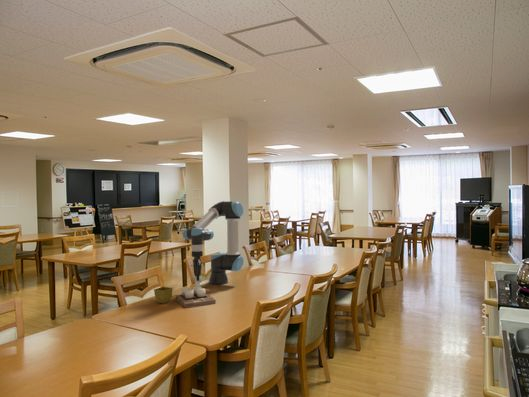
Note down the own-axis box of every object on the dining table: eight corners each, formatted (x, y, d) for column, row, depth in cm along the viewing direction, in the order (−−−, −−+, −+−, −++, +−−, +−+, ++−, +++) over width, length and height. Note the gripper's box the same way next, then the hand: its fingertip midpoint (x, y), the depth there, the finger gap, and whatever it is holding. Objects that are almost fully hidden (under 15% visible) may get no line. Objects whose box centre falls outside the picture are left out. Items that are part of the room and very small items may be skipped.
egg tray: (175, 298, 265) (175, 294, 265) (203, 295, 274) (203, 291, 274) (185, 307, 243) (185, 303, 243) (215, 303, 253) (215, 299, 253)
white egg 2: (192, 292, 268) (192, 286, 268) (200, 291, 270) (200, 285, 270) (194, 294, 263) (194, 288, 263) (202, 293, 265) (202, 287, 265)
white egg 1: (180, 293, 264) (180, 287, 264) (188, 292, 267) (188, 286, 267) (183, 295, 259) (182, 289, 259) (191, 294, 262) (191, 288, 262)
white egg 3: (195, 295, 261) (195, 288, 261) (203, 294, 263) (203, 287, 263) (198, 297, 256) (198, 290, 256) (206, 296, 258) (206, 289, 258)
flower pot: (153, 303, 254) (153, 289, 254) (163, 299, 262) (162, 286, 262) (164, 304, 250) (163, 290, 250) (173, 301, 258) (173, 287, 258)
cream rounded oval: (184, 296, 257) (183, 290, 257) (192, 295, 260) (192, 289, 260) (186, 298, 252) (186, 292, 252) (194, 297, 255) (194, 291, 255)
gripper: (188, 249, 271) (189, 284, 271) (194, 252, 259) (194, 287, 259) (199, 249, 274) (199, 282, 274) (205, 251, 262) (205, 286, 262)
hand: (197, 285), depth 267 cm, fingers closed
